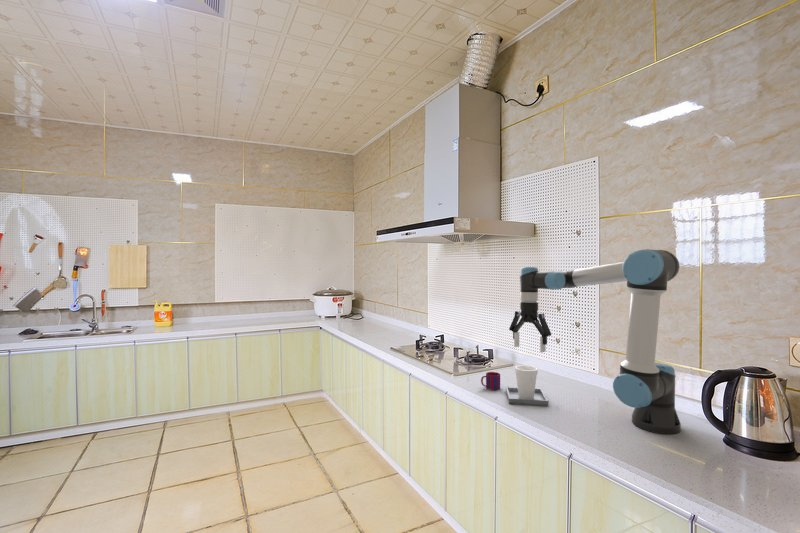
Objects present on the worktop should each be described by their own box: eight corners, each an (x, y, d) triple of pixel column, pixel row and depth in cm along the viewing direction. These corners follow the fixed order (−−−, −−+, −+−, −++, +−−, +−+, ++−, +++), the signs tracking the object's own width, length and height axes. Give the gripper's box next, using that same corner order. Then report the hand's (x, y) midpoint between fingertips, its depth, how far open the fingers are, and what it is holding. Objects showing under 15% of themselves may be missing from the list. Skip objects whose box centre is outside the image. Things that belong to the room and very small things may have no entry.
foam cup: (529, 402, 166) (529, 372, 166) (511, 396, 174) (510, 367, 173) (541, 397, 172) (541, 368, 172) (523, 392, 180) (523, 364, 179)
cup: (502, 389, 186) (502, 375, 186) (484, 391, 183) (484, 376, 183) (495, 385, 192) (495, 371, 192) (477, 387, 189) (477, 373, 189)
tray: (548, 406, 164) (548, 400, 164) (509, 403, 167) (509, 398, 167) (541, 393, 180) (541, 388, 179) (505, 391, 182) (505, 386, 182)
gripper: (559, 303, 165) (560, 353, 165) (511, 299, 186) (512, 343, 186) (549, 304, 161) (549, 355, 161) (501, 300, 181) (501, 345, 181)
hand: (529, 349), depth 173 cm, fingers open, 13 cm apart
